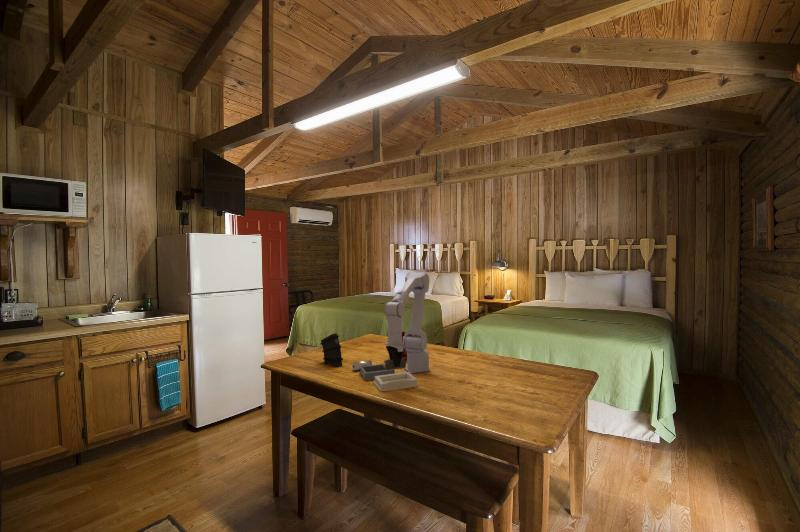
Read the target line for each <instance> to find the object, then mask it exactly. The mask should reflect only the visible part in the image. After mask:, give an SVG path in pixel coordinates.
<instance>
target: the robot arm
mask: <svg viewBox="0 0 800 532" xmlns="http://www.w3.org/2000/svg"><path fill="white" fill-rule="evenodd" d="M404 282H405V283H404V285H403V287H402V288H401V289H400V290H397V292H396V294H395V295H394V296H393V298H392V300H391V301H389V302H387V303H385V305H384V314H385V319H386V321H387V342H384V345H385V348H386V351H387V353H388V357H389V360H392V359H393V362H394V367H399V366H400V363H401V359H402V356H403V354H404V352H405V350H404V349H403V347H404V348H405V349H406V351H407V359H406V367H405V368H404V370H406V372H409V373H410V374H416V373H425V372H430V355H429V351H428V350H427V349H426V348H427V345H428V340H427V339H428V338H427V337H428V336H427V333H426V332H425V331H424V330H423V329H422V327H423V318H424V317H423V316H424V310H425V309H424V307H425V298H426V293H427V292H429V289H430V288H429V287H430V277H429V274H428V273H427V272H406V275H405V277H404ZM411 293H413V304H412V311H411V319H410V320H411V321H410V328H409V329H408V330H406V332H405V336H403V338H404V339H403V343H402V331H403V325H402V324H403V323H402V322H403V316H404V313H405V309H406V305H407V303H408V301H409V300H410V294H411ZM411 335H415V336H411ZM402 344H403V346H402Z"/></svg>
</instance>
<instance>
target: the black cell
mask: <svg viewBox="0 0 800 532" xmlns="http://www.w3.org/2000/svg"><path fill="white" fill-rule="evenodd" d="M382 364H383V366H384V368H385V370H394V371H395V370H399V369H400V370H401V369H405V367H407V360H406V359H404V358H402V359H401V363H400V366H399V367H394V362H393V359H392V360H390V359H386V360H383V363H382Z"/></svg>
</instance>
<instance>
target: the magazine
mask: <svg viewBox="0 0 800 532" xmlns="http://www.w3.org/2000/svg"><path fill="white" fill-rule="evenodd" d="M339 337H340V335H339V334H338V333H336V332H335V333H331V334H330V335H327V336H325V337H324V338H323V339H321V340H320V343H319V344H320V345H321V347H322V349H323V350H322V351H321V352H322V353H323V358H322V360H324V361H323V363H324V364H327V363H328V364H327V365H330V364H331V365H330V366H334V367H336V368H339V367H341V366H343V361H344V358H343V357H342V350H341V349H342V345H341V343H340V340H339ZM338 366H339V367H338Z"/></svg>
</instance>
